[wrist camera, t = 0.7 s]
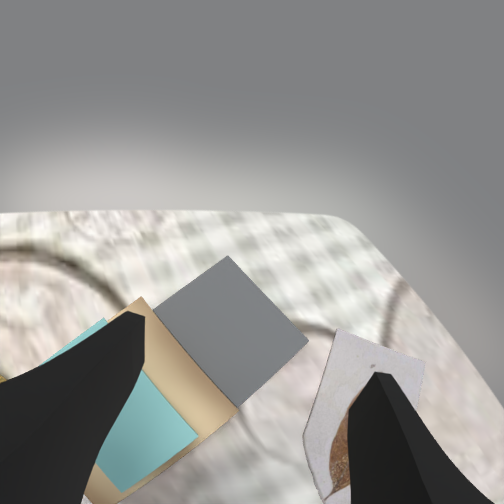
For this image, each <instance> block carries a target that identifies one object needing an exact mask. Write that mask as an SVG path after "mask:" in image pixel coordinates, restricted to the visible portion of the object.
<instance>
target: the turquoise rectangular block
mask: <svg viewBox="0 0 504 504" xmlns="http://www.w3.org/2000/svg"><path fill="white" fill-rule="evenodd" d="M106 324H108V322H107V321H106V320H105V319H104V318H103V319H101V320H100V321H99V322H97V323H96V324H95V325H93V326H92V327H90V328H89V329H88V330H86V331H85V332H84V333H82V334H81V335H80V336H78V337H77V338H76V339H74V340H73V341H71V342H70V343H69V344H67V345H66V346H65V347H63V348H62V349H61V350H59V351H58V352H57V353H55V354H54V355H53V356H51V357H50V358H49V359H47V360H46V361H45V362H43V363H42V364H44V363H46V362H48V361H50V360H51V359H53V358H55V357H56V356H58V355H60V354H62V353H63V352H65V351H67V350H68V349H70V348H72V347H73V346H75V345H76V344H78V343H79V342H81V341H83V340H84V339H86V338H87V337H89V336H90V335H92V334H93V333H95V332H96V331H98V330H99V329H101V328H102V327H104V326H105V325H106ZM42 364H41V365H42ZM39 366H40V365H39ZM197 437H199V436H198V434H197V433H196V432H195V431H194V430H193V428H192V427H191V426H190V425H189V424H188V423H187V422H186V421H185V420H184V419H183V417H182V416H181V415H180V414H179V413H178V412H177V411H176V410H175V408H174V407H173V406H172V405H171V404H170V403H169V401H168V400H167V399H166V398H165V397H164V396H163V394H162V393H161V392H160V391H159V390H158V388H157V387H156V386H155V385H154V383H153V382H152V381H151V380H150V378H149V377H148V376H147V375H146V373H145V372H144V371H143V370H141V372H140V375H139V377H138V380H137V382H136V384H135V387H134V389H133V391H132V393H131V394H130V396H129V398H128V400H127V402H126V403H125V405H124V407H123V409H122V410H121V412H120V414H119V416H118V417H117V419H116V421H115V423H114V425H113V426H112V428H111V430H110V432H109V434H108V435H107V437H106V439H105V441H104V443H103V445H102V447H101V449H100V451H99V454H98V456H97V459H96V462H95V463H96V464H97V465H98V466H99V468H100V469H101V470H102V471H103V472H104V474H105V475H106V476H107V477H108V478H109V479H110V481H111V482H112V483H113V484H114V485H115V486H116V487H117V489H118V490H119V491H120V492H121V493H122V492H124V491H125V490H127V489H128V488H130V487H131V486H133V485H134V484H136V483H137V482H139V481H140V480H141V479H143V478H144V477H146V476H147V475H148V474H150V473H151V472H153V471H154V470H155V469H157V468H158V467H159V466H161V465H162V464H164V463H165V462H166V461H168V460H169V459H170V458H172V457H173V456H174V455H176V454H177V453H178V452H179V451H181V450H182V449H183V448H185V447H186V446H187V445H188V444H190V443H191V442H192V441H194V440H195V439H196V438H197Z"/></svg>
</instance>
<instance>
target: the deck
mask: <svg viewBox="0 0 504 504" xmlns="http://www.w3.org/2000/svg"><path fill="white" fill-rule="evenodd" d="M126 311H130V312H133V313H136V314H139V315H143V316H145V363H144V365H143V367H142V370H143V371H144V372H145V373H146V375H147V376H148V377H149V378H150V380H151V381H152V382H153V383H154V385H155V386H156V387H157V388H158V390H159V391H160V392H161V393H162V394H163V396H164V397H165V398H166V399H167V400H168V401H169V403H170V404H171V405H172V406H173V407H174V408H175V410H176V411H177V412H178V413H179V414H180V415H181V416H182V417H183V419H184V420H185V421H186V422H187V423H188V424H189V425H190V426H191V427H192V428H193V430H194V431H195V432H196V433H197V434H198V436H199V437H197V438H196V439H195V440H194V441H192V442H191V443H190V444H188V445H187V446H186V447H185V448H183V449H182V450H181V451H179V452H178V453H177V454H176V455H174V456H173V457H172V458H170V459H169V460H168V461H166V462H165V463H164V464H162V465H161V466H159V467H158V468H157V469H155V470H154V471H153V472H151V473H150V474H148V475H147V476H146V477H144V478H143V479H141V480H140V481H139V482H137V483H136V484H134V485H133V486H131V487H130V488H128V489H127V490H125V491H124V492H122V493H121V492H120V491H119V490H118V489H117V487H116V486H115V485H114V484H113V483H112V482H111V481H110V479H109V478H108V477H107V476H106V475H105V474H104V472H103V471H102V470H101V469H100V468H99V466H98V465H97V464H96V463H95V464H94V467H93V469H92V472H91V475H90V477H89V480H88V483H87V486H86V489H85V492H84V494H85V496H86V497H87V498H88V499H89V500H90V501H91V503H92V504H117V503H118V502H120V501H121V500H123V499H125V498H126V497H128V496H129V495H130V494H132V493H133V492H135V491H136V490H138V489H139V488H141V487H142V486H144V485H145V484H146V483H148V482H149V481H151V480H152V479H154V478H155V477H156V476H158V475H159V474H160V473H162V472H163V471H165V470H166V469H167V468H169V467H170V466H171V465H173V464H174V463H175V462H177V461H178V460H179V459H181V458H182V457H183V456H184V455H186V454H187V453H188V452H190V451H191V450H192V449H193V448H195V447H196V446H197V445H199V444H200V443H201V442H202V441H204V440H205V439H206V438H207V437H208V436H210V435H211V434H212V433H213V432H215V431H216V430H217V429H218V428H219V427H221V426H222V425H223V424H224V423H225V422H227V421H228V420H229V419H230V418H231V417H232V416H234V415H235V414H236V413H237V412H238V411H239V410H238V409H237V408H236V407H235V406H234V405H233V404H232V403H231V402H230V401H229V400H228V398H227V397H226V396H225V395H224V394H223V393H222V392H221V391H220V390H219V389H218V388H217V387H216V386H215V384H214V383H213V382H212V381H211V380H210V379H209V378H208V377H207V376H206V374H205V373H204V372H203V371H202V370H201V369H200V368H199V366H198V365H197V364H196V363H195V362H194V361H193V360H192V358H191V357H190V356H189V355H188V354H187V353H186V351H185V350H184V349H183V348H182V347H181V345H180V344H179V343H178V342H177V341H176V339H175V338H174V337H173V336H172V335H171V333H170V332H169V331H168V330H167V328H166V327H165V326H164V325H163V323H162V322H161V321H160V320H159V318H158V317H157V316H156V315H155V313H154V312H153V311H152V309H151V308H150V307H149V306H148V304H147V303H146V302H145V300H144V299H143V298H142V296H141V297H140V298H138V299H137V300H136V301H134V302H133V303H132V304H130V305H129V306H127V307H126V308H125V309H123V310H122V311H120V312H119V313H118V314H116V315H115V316H113V317H112V318H111V319H109V320H108V321H107V322H108V323H109V322H111V321H112V320H114V319H115V318H116V317H118V316H119V315H121V314H122V313H124V312H126Z"/></svg>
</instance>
